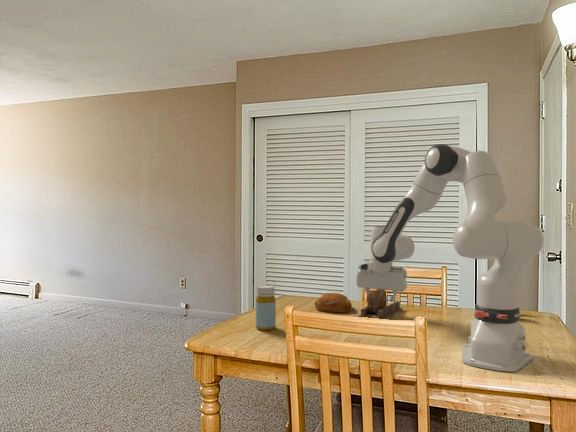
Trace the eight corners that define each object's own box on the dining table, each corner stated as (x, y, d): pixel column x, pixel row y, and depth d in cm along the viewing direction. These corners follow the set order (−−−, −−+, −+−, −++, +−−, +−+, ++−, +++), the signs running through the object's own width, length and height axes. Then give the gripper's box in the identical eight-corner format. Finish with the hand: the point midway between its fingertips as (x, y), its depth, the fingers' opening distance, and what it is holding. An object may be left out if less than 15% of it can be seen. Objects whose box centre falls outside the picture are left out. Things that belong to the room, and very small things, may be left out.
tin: (373, 315, 180) (373, 293, 180) (365, 314, 182) (366, 292, 182) (387, 307, 193) (387, 287, 193) (380, 307, 195) (380, 286, 195)
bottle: (273, 331, 162) (272, 288, 161) (253, 330, 163) (253, 287, 163) (277, 326, 169) (277, 285, 168) (258, 325, 170) (258, 284, 170)
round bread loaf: (342, 320, 186) (344, 301, 185) (309, 310, 194) (311, 291, 193) (357, 312, 198) (360, 294, 197) (325, 303, 206) (327, 285, 205)
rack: (382, 321, 175) (382, 312, 175) (358, 318, 180) (358, 309, 180) (402, 310, 194) (402, 301, 193) (379, 307, 199) (379, 299, 199)
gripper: (409, 266, 183) (409, 301, 184) (361, 263, 194) (361, 296, 195) (403, 268, 178) (403, 304, 178) (354, 265, 189) (354, 299, 189)
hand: (381, 300), depth 187 cm, fingers open, 8 cm apart
